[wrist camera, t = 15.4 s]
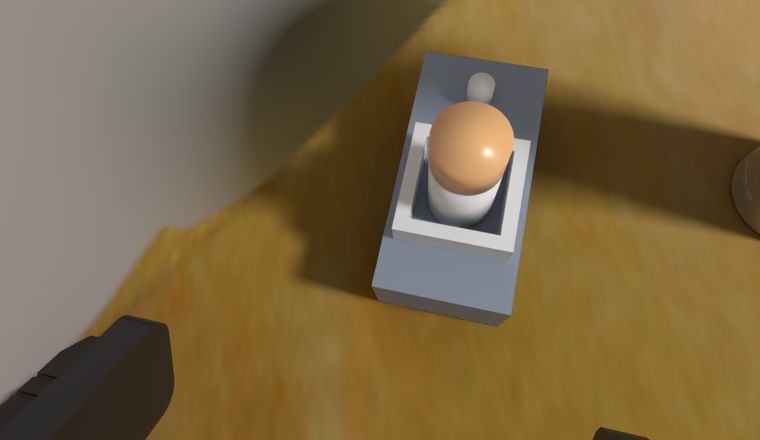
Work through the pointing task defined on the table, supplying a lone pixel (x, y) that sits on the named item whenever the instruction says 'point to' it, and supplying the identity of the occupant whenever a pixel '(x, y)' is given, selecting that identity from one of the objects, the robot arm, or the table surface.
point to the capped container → (467, 162)
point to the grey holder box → (452, 244)
